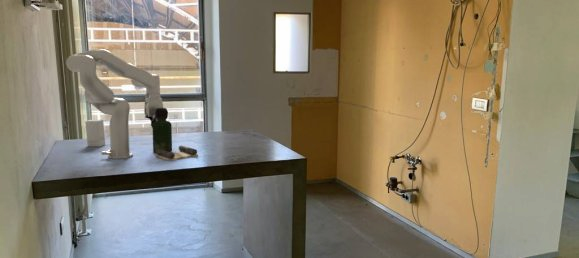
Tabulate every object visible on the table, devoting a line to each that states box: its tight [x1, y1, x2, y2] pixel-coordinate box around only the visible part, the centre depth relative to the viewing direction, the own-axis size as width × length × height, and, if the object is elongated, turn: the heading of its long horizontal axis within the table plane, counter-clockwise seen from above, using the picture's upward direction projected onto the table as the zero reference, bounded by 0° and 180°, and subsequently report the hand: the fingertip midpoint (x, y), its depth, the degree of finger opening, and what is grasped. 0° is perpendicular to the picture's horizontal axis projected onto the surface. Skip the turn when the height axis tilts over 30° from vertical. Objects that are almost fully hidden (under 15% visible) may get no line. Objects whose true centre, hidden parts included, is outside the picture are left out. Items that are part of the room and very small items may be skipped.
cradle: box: [154, 145, 199, 162], centre depth 238 cm, size 18×14×4 cm
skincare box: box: [84, 119, 106, 148], centre depth 261 cm, size 8×7×16 cm
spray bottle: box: [151, 107, 173, 154], centre depth 247 cm, size 10×10×25 cm
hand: (154, 127), depth 253 cm, fingers closed
